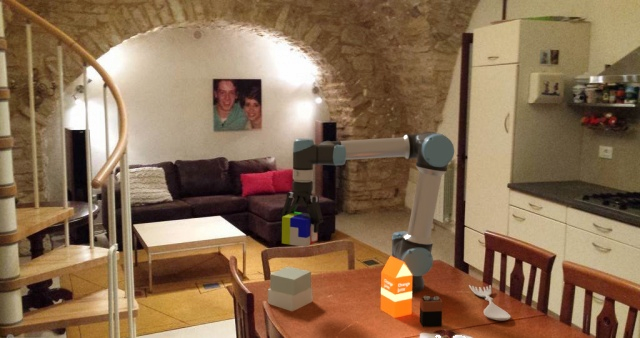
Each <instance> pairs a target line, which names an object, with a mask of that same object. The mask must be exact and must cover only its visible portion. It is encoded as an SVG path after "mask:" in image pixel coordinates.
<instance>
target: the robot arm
mask: <svg viewBox="0 0 640 338" xmlns="http://www.w3.org/2000/svg"><path fill="white" fill-rule="evenodd" d="M292 146H293V147H292V180H293V181H292V191H288V192H286V198H285V203H284V206H283V209H282V211H281V212H282V213H281V216H282V217H283V216H286V215H288V214H291V213H294V212H296V210H297V209H298V207H299V206H302V207H304V208H305V210H306V211H307V213H308V214H309V216H310V218H311V220H312V222H313V223H312V224H311V241H312V242H313V241H316V240H317V232H318V233H319V231H320V229H319V225H320V224H321V223H324V218H323V217H324V216H323V213H322V210H321V205H320V202H319V201H320V197H319V195H316V196H314V195H313V194H312V192H313V189H314V188H313V187H314V186H313V185H314V182H313V179H314V165H315V166H318V165H319V166H320V165H321V166H323V165H324V166H335V167H337V166H344V165H345V163H346V160H348V161H349V160H364V159H365V160H366V159H381V158H383V159H384V158H397V157H398V158H400V157H403V158H405V159H406V160H409V159H415V160H416V163H415V168H416V169H417V171H418V175H417V180H416V185H415V190H414V196H413V201H412V205H411V206H412V208H411V212H410V216H409V217H410V218H409V223H408V228H407V230H406V231H405V230H403V231H396V232H395V231H394V232H393V233H392V238H391V256H392V257H394V258H397V259H399V260H401V261H403V262H405V264H406V266H407V267H408V269H409V270H410V272H411V274H412V275H413V276H412V294H413V293H420V292H422V291H423V290H424V289H425V280H424V277H423V276H424V275H425V274H428V273H429V272H430V270H431V268H432V267H433V265H434V258H433V255H432V250H433V244H434V240H432V237H431V234H432V228H433V223H434V217H435V213H436V208H437V202H438V199H439V197H438V196H439V192H440V187H441V181H442V177H443V175H445V174H446V173H447V171H448V167H449V164H450V162H452V161H453V158H454V156H455V155H454V154H455V148H454V144H453V142H452V140H451V139H450V138H449V137H448V136H446V135H445V134H443V133H442V134H441V133H439V132H438V133H437V132H434V131H426V132H425V131H424V132H423V131H422V132H417V133H411V134H408V133H407V134H404V135H403V136H402V137H388V138H385V137H383V138H369V139H367V138H366V139H353V140H337V141H330V140H326V141H322V142H321V143H320V144H316V143H315V142H314V139H313V138H312V139H311V138H296V139H294V141H293V145H292ZM315 220H316V221H315ZM316 242H317V241H316Z"/></svg>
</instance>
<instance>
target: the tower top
mask: <svg viewBox="0 0 640 338" xmlns="http://www.w3.org/2000/svg"><path fill="white" fill-rule="evenodd" d="M269 278H270V279H269V281H270V282H269V283H270V287H269V289H270V288H271V290H274V291H278V292H282V293H286V294H290V295H296V294H298V293H300V292H302V291H304V290H306V289H307V288H309V287H312V271H311V270H306V269H301V268H297V267H292V266H286V267H284V268H281V269H279V270H277V271H274V272H273V273H270V275H269Z"/></svg>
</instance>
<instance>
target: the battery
mask: <svg viewBox="0 0 640 338" xmlns="http://www.w3.org/2000/svg"><path fill="white" fill-rule="evenodd" d="M419 323H420V325H421V326H422V328H436V327H437V328H438V327H440V328H441V327H442V325H443V324H442V323H443V301H442V299H441V298H440V297H439V296H437V295H435V296H433V297H431V296H428V295H424V296H423V297H420V298H419Z"/></svg>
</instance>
